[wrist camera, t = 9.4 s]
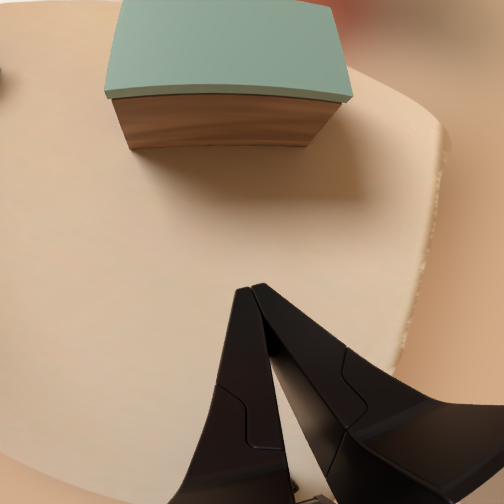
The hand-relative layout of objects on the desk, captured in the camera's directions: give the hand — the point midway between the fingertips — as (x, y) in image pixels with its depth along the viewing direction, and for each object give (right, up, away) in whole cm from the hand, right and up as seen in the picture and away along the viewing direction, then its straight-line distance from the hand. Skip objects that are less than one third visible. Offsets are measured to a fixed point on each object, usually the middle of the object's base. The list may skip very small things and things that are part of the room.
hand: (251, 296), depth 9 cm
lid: (-1, +14, +8) cm, 16 cm away
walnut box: (-3, +13, +15) cm, 20 cm away
